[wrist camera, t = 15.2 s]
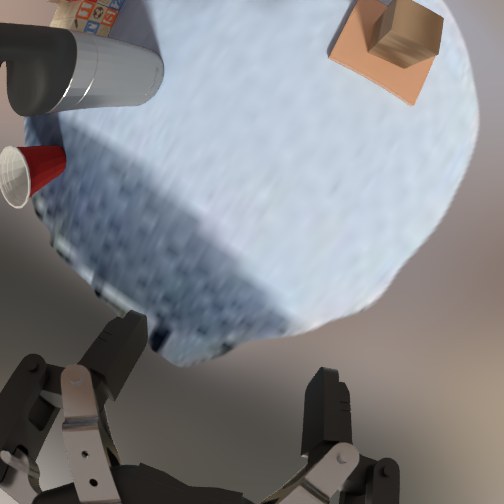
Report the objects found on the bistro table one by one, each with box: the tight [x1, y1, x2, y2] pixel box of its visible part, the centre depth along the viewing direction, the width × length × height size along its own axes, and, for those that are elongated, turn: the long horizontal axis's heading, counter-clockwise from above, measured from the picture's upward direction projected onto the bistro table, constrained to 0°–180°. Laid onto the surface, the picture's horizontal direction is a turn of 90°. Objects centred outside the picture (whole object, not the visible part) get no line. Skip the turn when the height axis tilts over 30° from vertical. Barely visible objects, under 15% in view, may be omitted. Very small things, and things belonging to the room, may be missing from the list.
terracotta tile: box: [329, 0, 441, 106], centre depth 23 cm, size 12×12×1 cm
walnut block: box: [368, 0, 444, 69], centre depth 18 cm, size 5×5×10 cm
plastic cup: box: [0, 145, 66, 208], centre depth 33 cm, size 11×11×12 cm
